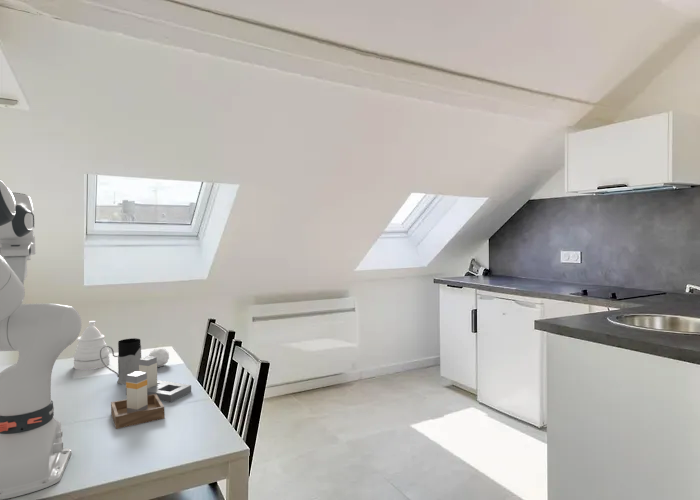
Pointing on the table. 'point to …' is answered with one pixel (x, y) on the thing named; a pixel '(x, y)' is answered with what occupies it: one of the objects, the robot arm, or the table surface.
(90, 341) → the honey pot
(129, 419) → the tray
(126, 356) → the grey mug
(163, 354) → the ball
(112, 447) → the table surface
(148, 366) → the block
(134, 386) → the block
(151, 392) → the fuse block
